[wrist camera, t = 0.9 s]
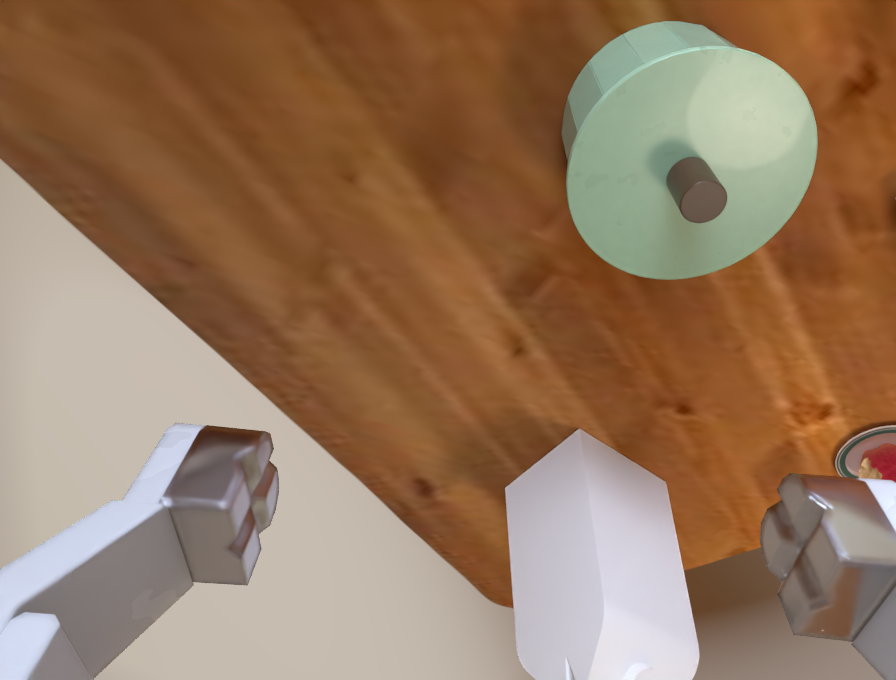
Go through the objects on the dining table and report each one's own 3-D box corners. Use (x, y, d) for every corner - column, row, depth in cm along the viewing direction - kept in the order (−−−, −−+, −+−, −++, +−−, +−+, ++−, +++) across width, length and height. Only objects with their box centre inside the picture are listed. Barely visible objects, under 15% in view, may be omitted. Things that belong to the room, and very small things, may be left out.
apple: (846, 490, 64) (876, 544, 59) (822, 441, 61) (852, 495, 55) (933, 462, 61) (974, 517, 56) (914, 410, 58) (955, 463, 52)
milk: (504, 488, 68) (505, 761, 47) (579, 428, 62) (618, 711, 41) (588, 534, 71) (623, 807, 51) (665, 481, 65) (741, 766, 45)
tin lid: (541, 89, 35) (545, 115, 31) (809, 5, 32) (850, 23, 28) (589, 291, 42) (597, 332, 39) (809, 240, 39) (842, 279, 35)
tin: (543, 57, 42) (553, 98, 35) (744, -8, 39) (802, 21, 31) (581, 223, 49) (596, 288, 41) (754, 178, 46) (804, 239, 38)
